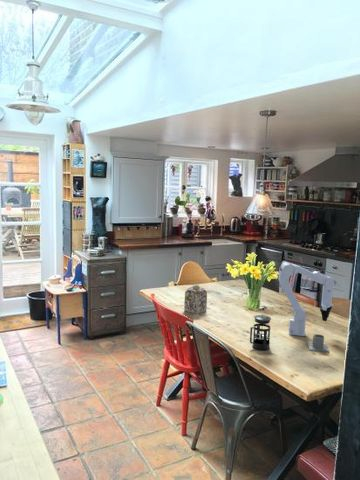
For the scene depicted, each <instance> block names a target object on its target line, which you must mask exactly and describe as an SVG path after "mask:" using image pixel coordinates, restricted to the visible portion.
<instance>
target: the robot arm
mask: <svg viewBox="0 0 360 480" xmlns="http://www.w3.org/2000/svg"><path fill="white" fill-rule="evenodd" d="M278 270H279V272H278V283H279V284H280V286H281V288H282V290H283V292H284V294H285V296H286V298H287V299H288V302H289V303H290V306H291V308H292V313H293V318H289V321H288V322H289V323H288V333H289V335H290V336H298V337H299V336H301V337H307V334H306V320H307V316H308V314H307V312H306V311H305V309H304V308H303V307H302V306H301V305H300V303H299V301H298V299H297V297H296V295H295V293H294V291H293V289H292V287H291V285H290V282H289V278H290V277H291V276H292V275H293V274H298V273H299V274H300V275H303V276H306V277H308V278H309V277H310V280H311V281H314V282H315V283H318V284H320V285H322V289H321V290H322V291H321V292H322V293H321V304H320V306H321V307H322V308H320V309H319V311H320V314H321V318H322V322H327V321H328V318H329V317H330V312H331V310H332V308H333V307H335V304H333V294H334V293H333V292H334V286H335V284H336V283H335V280H334V278H332V276H329V275H327V274H324V273H321V271H319V270H317V271H316V270H313V271H310V270H308V269H306V268H304V267H302V266H300V265H297V264H294V263H290V262H288V261H284V262H282V263H281V264H280V266H279V268H278Z"/></svg>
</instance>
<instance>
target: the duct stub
mask: <svg viewBox="0 0 360 480" xmlns="http://www.w3.org/2000/svg"><path fill="white" fill-rule="evenodd" d="M312 345H313V342H307V347H308V350H309V351H311V352H320V353H328V354H329V353H330V351H329V347H328V344H326V343H324V345H323V348H321V349H318V348H314V347H313V346H312Z"/></svg>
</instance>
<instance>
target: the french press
mask: <svg viewBox="0 0 360 480" xmlns="http://www.w3.org/2000/svg"><path fill="white" fill-rule="evenodd" d="M258 307H259V308H260V309H261V311H262V314H257V315H254V317H253V318H254V322H255V323H254V324H253V326H250V331H249V343H250V344H252V345H251V347H252V348H253V350H256V351H260V352H262V351H263V352H266V351H269V350H270V349H271V346H270V340H271V339H270V335H271V326H270V325H269V324H270V323H271V322H270V321H271V319H272V317H270V316H268V315H265V314H264V310H265V309H267V308H268V307H267V306H265V305H260V306H258ZM261 327H265V328H261Z"/></svg>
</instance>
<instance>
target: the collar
mask: <svg viewBox="0 0 360 480" xmlns="http://www.w3.org/2000/svg"><path fill="white" fill-rule="evenodd" d="M312 343H313V345H312V346H313V347H314V348H318V349H321V348H323V345H324V344H325V336H324V335H322V334H319V333H317V334H315V333H314V334H313V336H312Z"/></svg>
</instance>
